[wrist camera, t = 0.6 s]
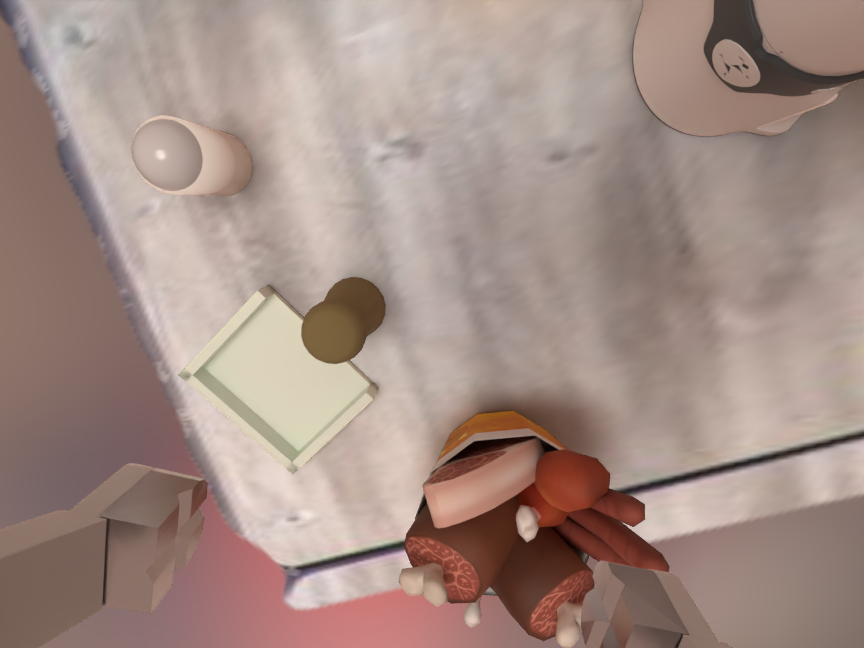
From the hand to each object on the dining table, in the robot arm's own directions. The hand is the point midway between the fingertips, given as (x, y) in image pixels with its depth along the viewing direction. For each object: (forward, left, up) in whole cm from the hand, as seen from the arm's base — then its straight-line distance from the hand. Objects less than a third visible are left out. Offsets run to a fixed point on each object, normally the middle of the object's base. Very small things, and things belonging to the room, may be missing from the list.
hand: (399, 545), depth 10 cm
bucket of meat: (+9, +19, -38) cm, 44 cm away
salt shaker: (+7, -21, -38) cm, 44 cm away
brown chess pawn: (+8, -3, -38) cm, 39 cm away
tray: (+19, -3, -38) cm, 43 cm away
